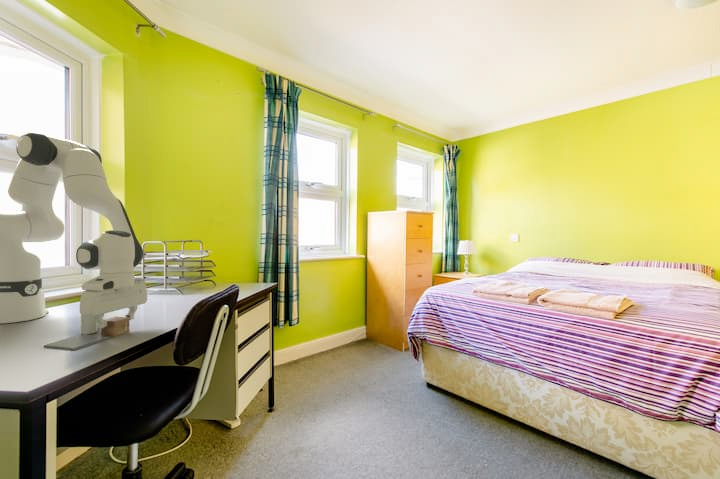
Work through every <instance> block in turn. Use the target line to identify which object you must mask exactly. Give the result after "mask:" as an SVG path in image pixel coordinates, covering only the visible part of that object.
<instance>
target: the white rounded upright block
mask: <svg viewBox="0 0 720 479" xmlns="http://www.w3.org/2000/svg"><path fill="white" fill-rule="evenodd" d="M98 329H99V328H98V323H97V322H96V320H95V319H94V316H92V317H87V316H82V315H81V314H80V334H86V335H93V334H94V333H97V332H98Z"/></svg>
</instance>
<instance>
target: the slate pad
mask: <svg viewBox="0 0 720 479" xmlns="http://www.w3.org/2000/svg"><path fill="white" fill-rule="evenodd" d="M109 338H110V337H108V336H101V335H94V334H81V333H80V334H77V335H74V336H70V337H66V338H64V339H60V340H57V341H54V342H51V343H47V344H44V345H43V348H45V349H46V348H48V349H56V350H57V349H58V350H68V351H76V350H79V349H83V348H85V347H87V346H91V345H94V344H97V343H99V342H102V341H105V340H109Z"/></svg>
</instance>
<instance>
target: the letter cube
mask: <svg viewBox="0 0 720 479" xmlns="http://www.w3.org/2000/svg"><path fill="white" fill-rule="evenodd" d="M103 320H104V322H107V327H105V328H102V329H100V333H101V334H100V336H108V337H109V338H117V337H120V336H123V335H126V334H129V333H130V321H131V320H130V318H128V317H126V316H113V317H109V318H105V319H103Z"/></svg>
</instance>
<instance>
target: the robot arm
mask: <svg viewBox="0 0 720 479" xmlns="http://www.w3.org/2000/svg"><path fill="white" fill-rule="evenodd" d="M15 149H16V153H17V155H18V156H19V158H20V159H19V161H18V163H17V165H16V167H15V169H14V171H13V175H12V178H11V180H10V184H9V186H8V189H7V192H8V196H9V197H10V199H12V200H13V201H15V202H16V203H18V204H20V205H21V208H22V209H21V211H20V212H18V211H5V210H4V211H3V210H2V211H1V210H0V325H1V324H10V323H18V322H24V321H25V322H26V321H31V320H35V319H40V318H42V317H45V316H46V315H47V314H49V309H46V299H45V293H44V292H43V291H42V290H41V289H42V288H43V280H42V278H41V259H40V258H39V256H37V255H36V254H34V253H32V252H29V251H27V250H26V249H25V248H24V245H23V243H45V242H51V241H55V240H59V239H60V238H61V237H62V236H63V234H64V232H65V224H64V222H63V221H62V219H61V218H60V217H58V216H57V215H56V213H55V212H54V209H53V201H54V196H55V193H56V190H57V187H58V184H59V181H60V177H61V174H62V182H63V186H64V187H63V188H64V191H65V194H66V196H67V197H68V199H69V200H70V201H71V202H73V203H75V204H76V205H78V206H79V207H81V208H84V209H86V210H87V209H88V210H90V211H92V212H95V213H98V214H100V215H101V216H103V217H104V218H106V219H107V220H108V222H109V223H110V225H111V228H112V230H105V231H103V232H102V233H101V235H100V236H98V237H97V238H94V239H91V240H88V241H85V242H83V243H81V244H80V245H79V247H78V248H77V249H76V251H75V252H76V255H75V258H76V262H77V264H79V266H80V267H81V268H83V269H85V270H92V271H93V270H96V271H97V270H99V275H98V276H95V278H92V279H90V280H87V281H85V282H83V283H82V284H81V289H82V290H83V292H82V293H81V294H80V295H81V296H80V300H79V314H80V316H81V315H82V316H87V317H92V316H94V319H95V320H96V322H97V323H98V329H100V330H101V329H102V328H105V327H107V322H104V320H105V319H104V317H105V314H107V313H111V312H116V311H120V310H124V309H128V310H129V311H128V313H127V314H125V317H128V318H130V320H129V321H132V320H134V319H135V313H136V312H137V310H138V306H141V305H144V304H146V303H147V301H148V292H147V290H148V289H147V286H146V281H145V279H143V278H142V277H137V278H135V274H136V273H135V267H137V266H138V265H139V264H140V263H142V260H143V258H144V255H145V252H144V249H143V247H142V245H141V243H140V242H139V240H138V239H137V237H136V234H135V230H134V228H133V226H132V224H131V221H130V218H129V216H128V214H127V211H126V208H125V207H124V204H123V202H122V201H121V200H120V199H119V198H118V197H116V196H115V195H114V193H113V191H111V190H112V189H110V186H109V184H108V181H107V176H106V173H105V170H104V168H103V160H102V156H101V154H100V152H99V151H98V150H96V149H94V148H92V147H90V146H88V145H83V144H81V143H78V142H76V141H72V140H69V139H65V138H59V137H55V136H51V135H46V134H44V133H39V132H25V133H23V134H22V135H20V137H19V138H18V140H17V142H16V147H15Z"/></svg>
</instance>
